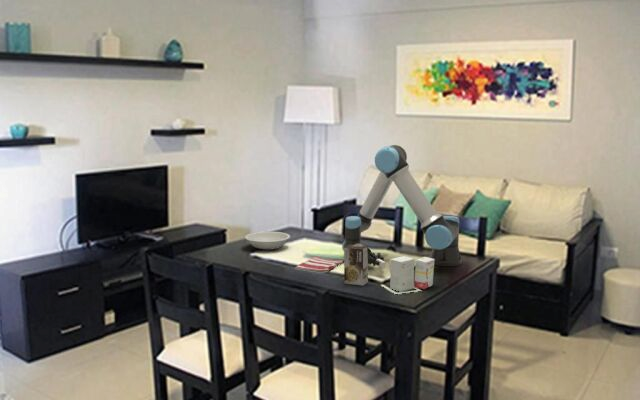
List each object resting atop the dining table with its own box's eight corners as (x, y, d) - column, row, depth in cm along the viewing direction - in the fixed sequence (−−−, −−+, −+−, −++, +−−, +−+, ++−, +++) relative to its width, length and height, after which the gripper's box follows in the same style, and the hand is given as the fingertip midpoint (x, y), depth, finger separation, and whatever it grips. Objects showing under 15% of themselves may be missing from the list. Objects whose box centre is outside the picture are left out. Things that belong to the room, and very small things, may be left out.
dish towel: (346, 262, 303) (346, 257, 302) (326, 274, 282) (326, 269, 281) (315, 258, 310) (315, 253, 309) (293, 270, 289) (293, 265, 288)
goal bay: (406, 282, 267) (406, 281, 267) (421, 291, 255) (421, 290, 255) (380, 285, 263) (380, 284, 263) (395, 294, 251) (395, 293, 251)
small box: (403, 285, 264) (403, 255, 262) (414, 288, 259) (414, 258, 257) (389, 289, 259) (390, 258, 256) (400, 292, 254) (401, 261, 252)
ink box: (424, 289, 256) (425, 261, 255) (413, 287, 259) (415, 259, 258) (433, 285, 263) (435, 258, 262) (422, 283, 266) (424, 256, 264)
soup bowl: (288, 254, 317) (288, 241, 316) (242, 253, 318) (241, 241, 316) (291, 243, 341) (291, 231, 340) (248, 243, 341) (248, 231, 340)
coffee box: (368, 282, 268) (368, 245, 266) (363, 286, 263) (363, 249, 260) (349, 279, 272) (349, 243, 270) (343, 283, 266) (343, 247, 264)
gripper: (373, 259, 297) (397, 272, 275) (348, 262, 292) (370, 275, 271) (373, 244, 296) (397, 255, 274) (348, 246, 291) (371, 258, 270)
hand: (384, 265), depth 273 cm, fingers closed
